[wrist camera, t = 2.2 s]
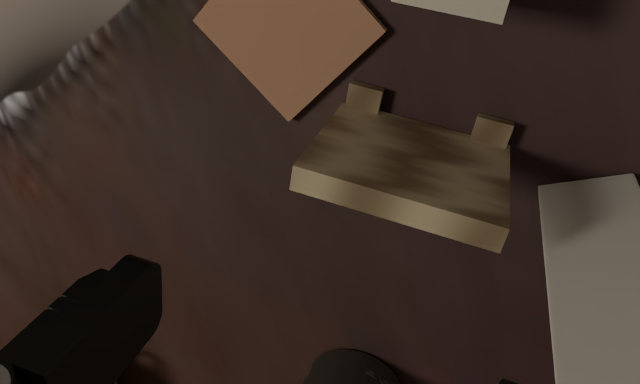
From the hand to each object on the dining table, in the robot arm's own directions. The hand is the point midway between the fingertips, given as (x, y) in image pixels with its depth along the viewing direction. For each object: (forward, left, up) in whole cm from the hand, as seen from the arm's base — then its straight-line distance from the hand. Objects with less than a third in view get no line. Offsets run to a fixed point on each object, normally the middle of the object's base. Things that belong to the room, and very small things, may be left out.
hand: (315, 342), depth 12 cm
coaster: (-7, +8, -28) cm, 30 cm away
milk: (0, -16, -28) cm, 32 cm away
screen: (-5, -4, -28) cm, 28 cm away
